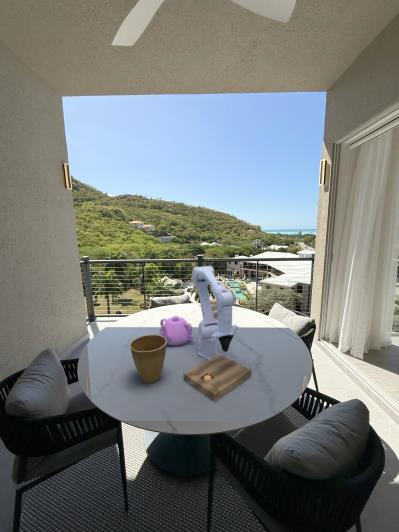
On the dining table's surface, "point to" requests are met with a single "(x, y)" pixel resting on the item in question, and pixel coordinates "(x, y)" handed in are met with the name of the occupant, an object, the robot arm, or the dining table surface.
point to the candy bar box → (214, 309)
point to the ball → (207, 378)
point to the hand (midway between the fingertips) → (225, 350)
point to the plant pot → (149, 356)
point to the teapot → (176, 330)
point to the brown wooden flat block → (217, 376)
